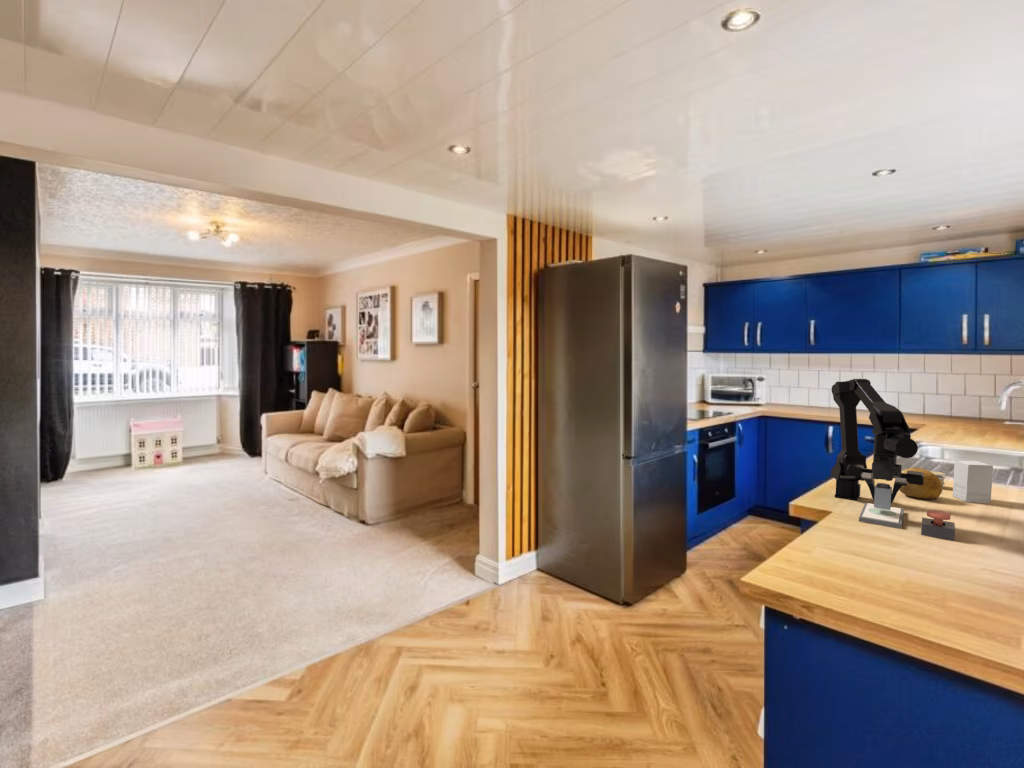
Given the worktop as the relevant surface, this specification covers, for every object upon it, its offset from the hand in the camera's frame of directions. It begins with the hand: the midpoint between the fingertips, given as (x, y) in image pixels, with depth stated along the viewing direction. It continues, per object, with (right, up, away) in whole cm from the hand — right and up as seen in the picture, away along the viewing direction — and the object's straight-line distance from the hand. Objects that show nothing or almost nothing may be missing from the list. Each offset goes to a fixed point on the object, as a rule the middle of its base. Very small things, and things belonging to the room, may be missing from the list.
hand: (882, 502), depth 158 cm
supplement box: (+42, -3, +18) cm, 46 cm away
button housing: (+5, -6, -14) cm, 16 cm away
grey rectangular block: (0, -2, 0) cm, 2 cm away
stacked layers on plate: (+42, -3, +34) cm, 54 cm away
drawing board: (0, -5, 0) cm, 4 cm away
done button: (+5, -4, -14) cm, 15 cm away
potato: (+27, -3, +21) cm, 34 cm away
